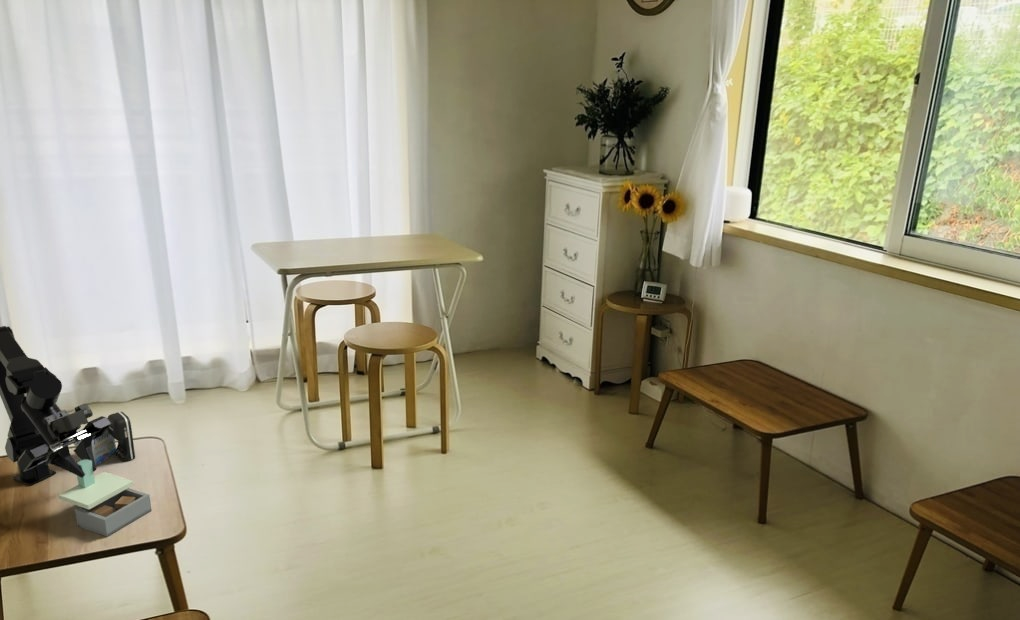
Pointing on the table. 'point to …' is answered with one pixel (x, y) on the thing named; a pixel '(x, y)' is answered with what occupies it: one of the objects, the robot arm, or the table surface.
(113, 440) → the medicine box
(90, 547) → the table surface
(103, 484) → the lid
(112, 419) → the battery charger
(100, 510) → the block
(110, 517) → the tub
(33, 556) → the table surface
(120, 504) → the block
